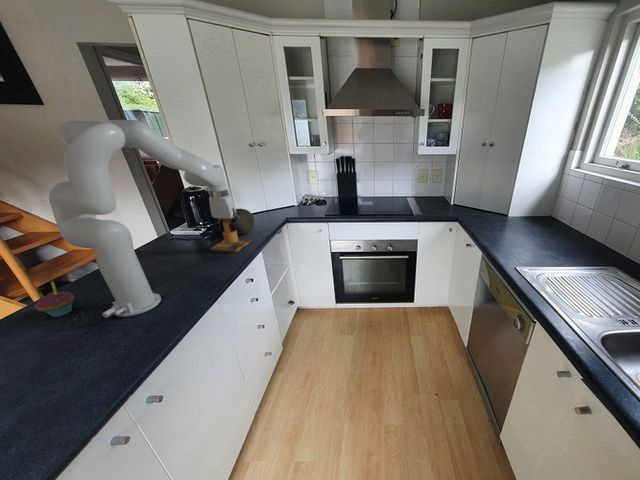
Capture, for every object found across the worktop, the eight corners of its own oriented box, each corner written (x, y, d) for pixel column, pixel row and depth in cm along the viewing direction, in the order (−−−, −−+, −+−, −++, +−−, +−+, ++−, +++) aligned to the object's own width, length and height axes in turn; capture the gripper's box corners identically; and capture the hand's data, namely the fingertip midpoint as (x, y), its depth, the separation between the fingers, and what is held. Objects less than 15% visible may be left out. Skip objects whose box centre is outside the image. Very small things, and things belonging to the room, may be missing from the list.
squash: (233, 243, 133) (228, 222, 128) (222, 243, 133) (216, 221, 129) (241, 239, 138) (235, 218, 133) (230, 238, 139) (224, 217, 134)
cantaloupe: (227, 234, 157) (220, 208, 150) (252, 228, 165) (247, 204, 159) (234, 241, 147) (227, 214, 141) (261, 235, 156) (255, 209, 149)
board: (235, 252, 135) (235, 250, 134) (209, 250, 136) (209, 248, 136) (251, 241, 147) (251, 239, 147) (227, 240, 149) (227, 237, 148)
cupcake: (78, 302, 97) (60, 273, 92) (81, 311, 92) (63, 281, 87) (41, 313, 91) (21, 283, 86) (43, 324, 86) (21, 293, 81)
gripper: (196, 194, 123) (208, 232, 131) (231, 196, 121) (240, 234, 129) (208, 191, 129) (218, 227, 138) (241, 192, 128) (249, 229, 136)
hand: (229, 230), depth 133 cm, fingers closed on squash, 4 cm apart
